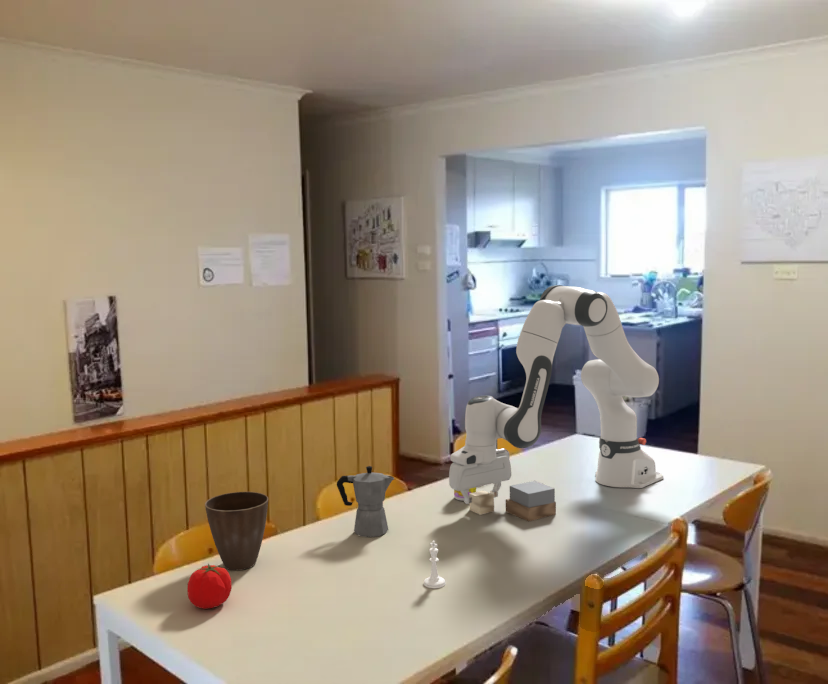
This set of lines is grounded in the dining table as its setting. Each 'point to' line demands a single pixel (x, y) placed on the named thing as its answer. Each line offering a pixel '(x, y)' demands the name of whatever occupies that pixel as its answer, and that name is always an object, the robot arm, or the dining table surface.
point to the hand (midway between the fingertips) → (481, 500)
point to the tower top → (532, 494)
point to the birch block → (482, 502)
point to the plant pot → (237, 527)
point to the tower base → (530, 510)
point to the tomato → (209, 586)
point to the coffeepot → (368, 501)
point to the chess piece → (434, 570)
